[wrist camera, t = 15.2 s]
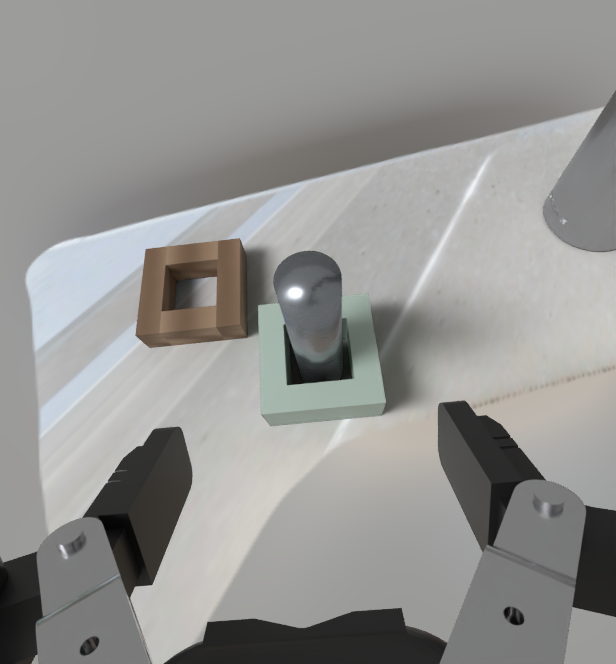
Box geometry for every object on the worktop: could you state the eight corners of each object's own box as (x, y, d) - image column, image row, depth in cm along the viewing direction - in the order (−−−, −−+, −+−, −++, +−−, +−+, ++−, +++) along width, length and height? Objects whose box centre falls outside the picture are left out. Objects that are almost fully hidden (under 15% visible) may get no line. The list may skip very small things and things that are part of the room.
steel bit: (339, 347, 39) (337, 247, 24) (344, 387, 37) (345, 305, 22) (298, 352, 39) (272, 254, 24) (301, 391, 37) (274, 312, 23)
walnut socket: (246, 255, 44) (239, 238, 41) (247, 337, 40) (240, 324, 37) (157, 265, 45) (145, 249, 42) (149, 347, 40) (135, 335, 38)
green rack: (365, 316, 40) (368, 293, 36) (381, 415, 36) (386, 402, 31) (266, 326, 40) (258, 305, 36) (270, 425, 36) (260, 414, 32)
